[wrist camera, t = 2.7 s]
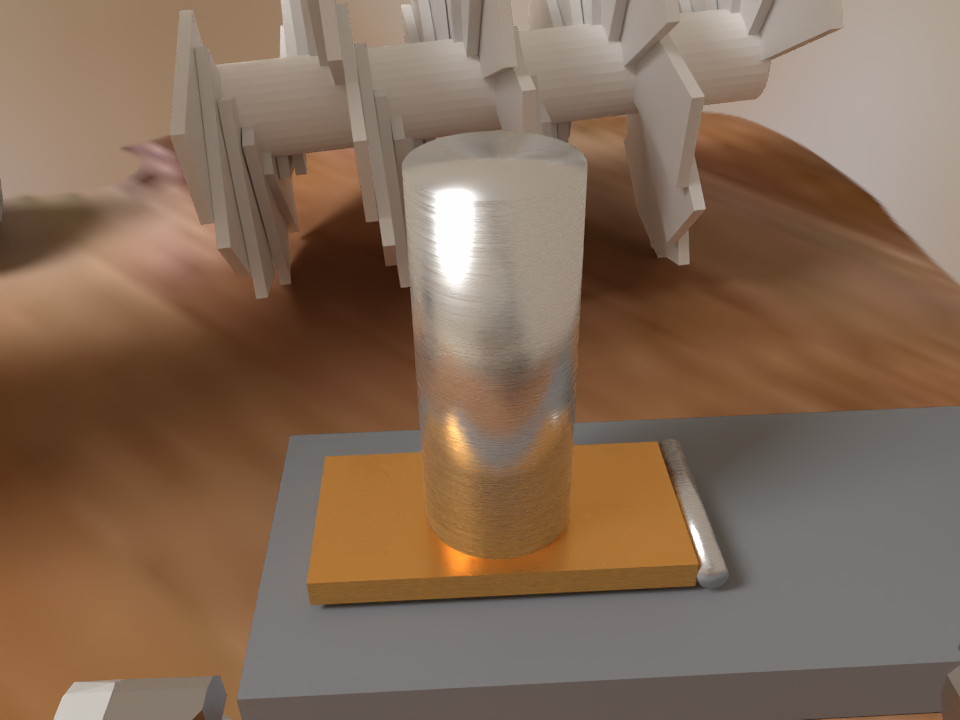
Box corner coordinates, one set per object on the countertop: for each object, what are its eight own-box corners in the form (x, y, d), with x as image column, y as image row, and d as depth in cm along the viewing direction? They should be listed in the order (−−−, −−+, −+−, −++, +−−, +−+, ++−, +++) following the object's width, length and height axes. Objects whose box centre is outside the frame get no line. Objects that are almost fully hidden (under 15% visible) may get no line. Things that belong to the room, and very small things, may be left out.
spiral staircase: (253, 307, 49) (699, 247, 51) (182, 347, 31) (865, 253, 34) (194, -48, 46) (668, -95, 48) (80, -219, 29) (831, -281, 31)
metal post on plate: (310, 608, 23) (240, 222, 17) (328, 474, 27) (278, 129, 22) (726, 587, 23) (801, 202, 18) (680, 458, 28) (727, 114, 22)
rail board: (249, 749, 22) (236, 699, 21) (297, 481, 31) (290, 435, 30) (1230, 696, 23) (1266, 645, 22) (1017, 448, 31) (1036, 402, 30)
